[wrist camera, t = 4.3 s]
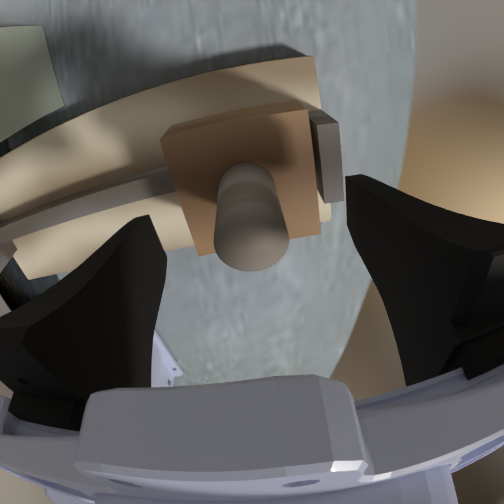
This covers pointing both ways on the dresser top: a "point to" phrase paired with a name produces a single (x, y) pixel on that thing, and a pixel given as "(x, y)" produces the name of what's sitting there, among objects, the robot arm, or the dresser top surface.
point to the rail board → (139, 164)
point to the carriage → (246, 181)
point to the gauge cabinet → (25, 79)
